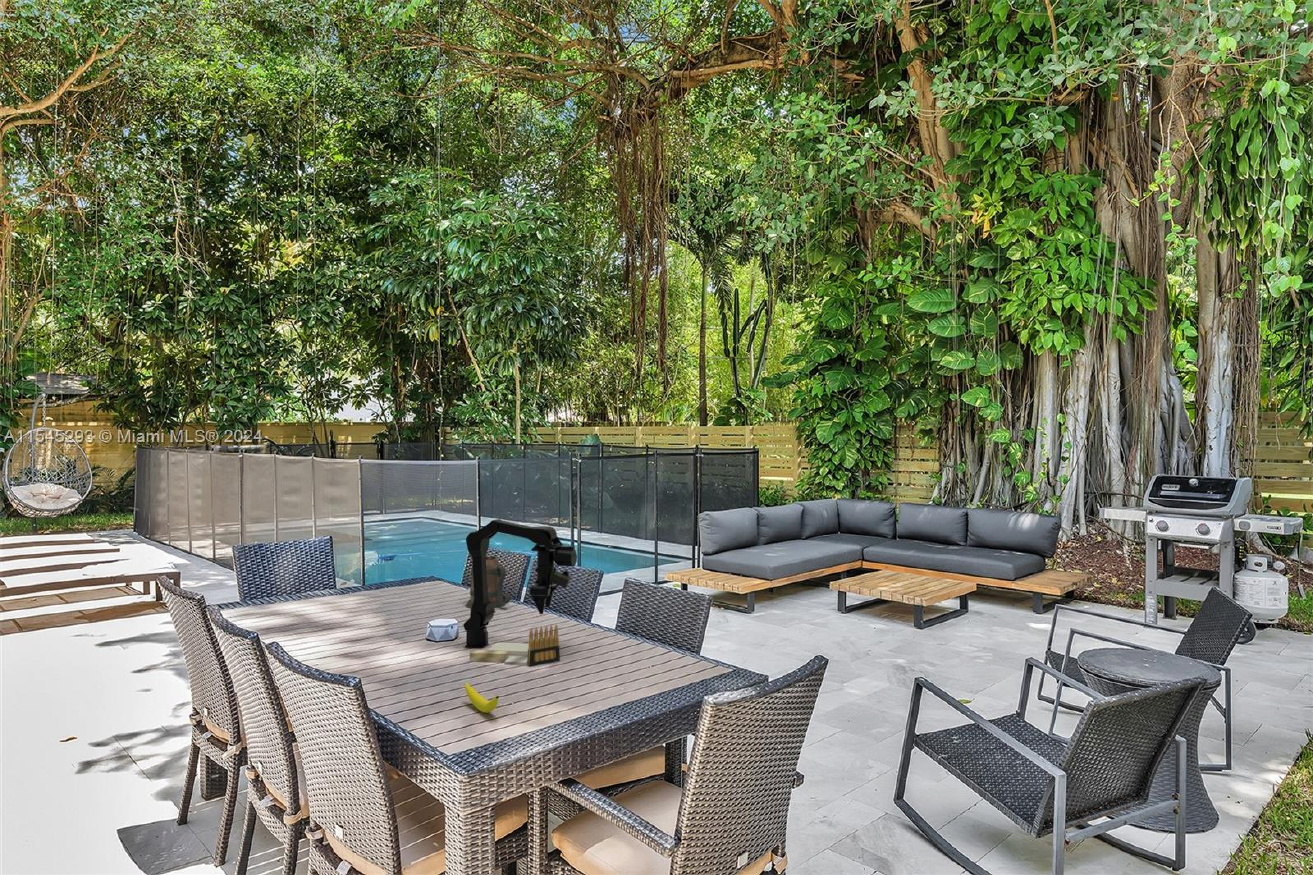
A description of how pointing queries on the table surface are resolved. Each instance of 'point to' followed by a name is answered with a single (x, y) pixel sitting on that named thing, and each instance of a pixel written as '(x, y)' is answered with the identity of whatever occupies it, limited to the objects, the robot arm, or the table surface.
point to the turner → (497, 657)
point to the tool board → (511, 648)
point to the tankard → (493, 583)
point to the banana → (480, 700)
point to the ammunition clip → (543, 647)
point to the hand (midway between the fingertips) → (544, 610)
